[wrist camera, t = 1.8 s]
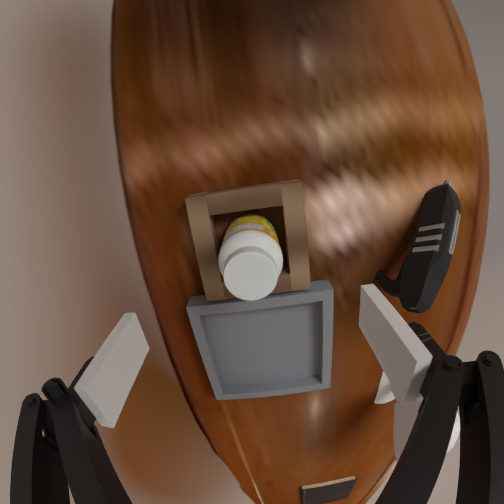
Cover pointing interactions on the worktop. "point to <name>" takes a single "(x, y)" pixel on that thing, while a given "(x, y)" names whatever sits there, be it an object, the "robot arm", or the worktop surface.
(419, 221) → the gun
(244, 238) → the supplement bottle
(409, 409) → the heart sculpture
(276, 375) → the tray
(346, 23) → the worktop surface
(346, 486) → the hardcover book
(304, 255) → the socket block
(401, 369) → the robot arm
